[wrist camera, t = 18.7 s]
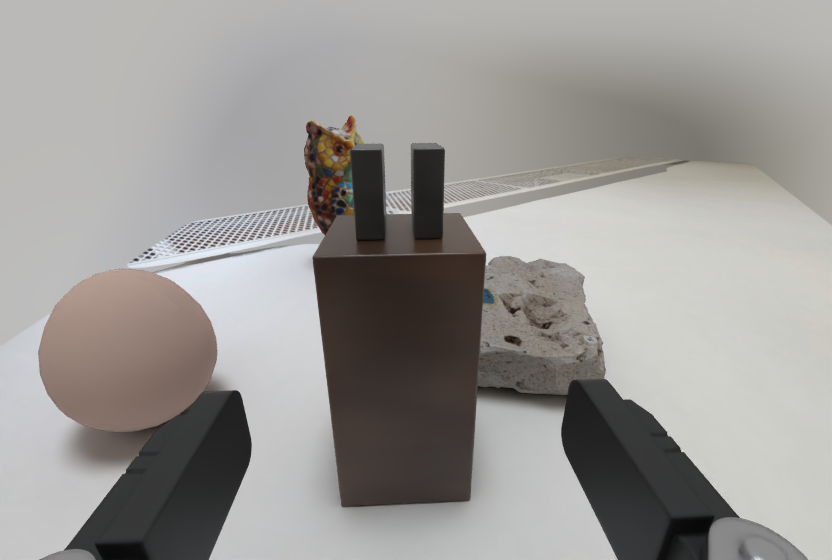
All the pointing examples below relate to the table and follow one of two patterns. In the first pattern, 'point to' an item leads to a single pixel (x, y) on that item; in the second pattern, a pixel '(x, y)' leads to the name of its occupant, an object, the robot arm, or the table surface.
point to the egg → (126, 351)
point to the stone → (536, 328)
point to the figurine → (330, 171)
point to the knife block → (401, 337)
